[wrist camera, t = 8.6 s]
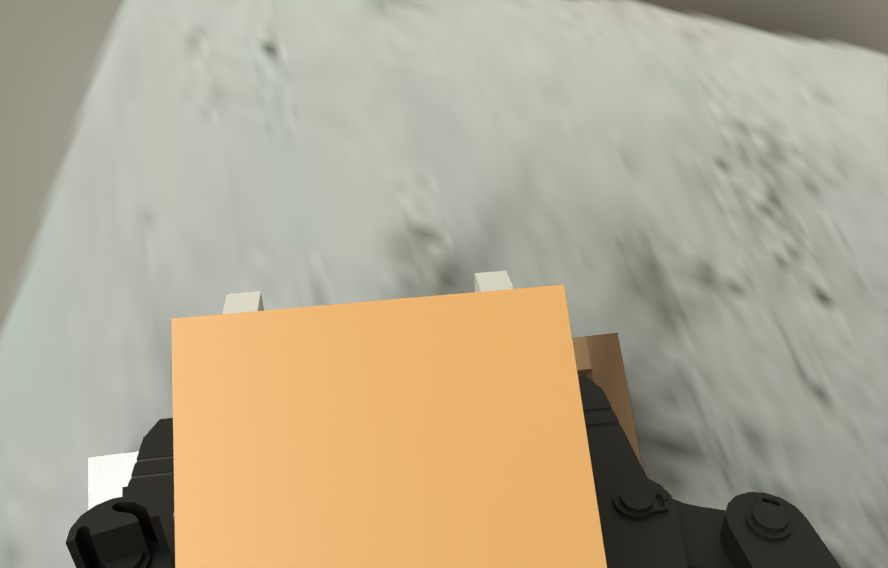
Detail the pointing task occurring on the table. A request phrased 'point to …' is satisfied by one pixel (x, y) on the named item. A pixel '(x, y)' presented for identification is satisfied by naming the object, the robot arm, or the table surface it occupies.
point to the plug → (384, 436)
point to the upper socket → (607, 376)
